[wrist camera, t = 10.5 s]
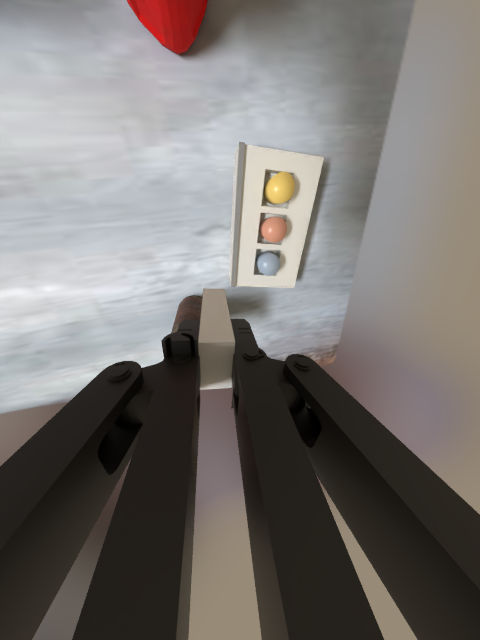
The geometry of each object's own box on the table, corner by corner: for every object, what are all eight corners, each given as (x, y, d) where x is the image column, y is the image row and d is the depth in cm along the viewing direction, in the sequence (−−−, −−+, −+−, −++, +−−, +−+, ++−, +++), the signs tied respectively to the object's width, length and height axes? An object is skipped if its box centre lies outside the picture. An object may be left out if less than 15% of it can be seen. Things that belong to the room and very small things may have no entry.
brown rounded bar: (215, 313, 45) (219, 371, 28) (192, 327, 46) (181, 392, 29) (197, 289, 42) (189, 338, 24) (172, 305, 43) (146, 363, 25)
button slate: (256, 250, 36) (261, 253, 33) (275, 251, 37) (282, 255, 33) (254, 270, 38) (258, 275, 34) (272, 271, 39) (278, 276, 35)
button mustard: (265, 175, 30) (272, 169, 27) (287, 178, 31) (297, 173, 28) (262, 203, 32) (268, 201, 29) (283, 205, 33) (291, 204, 29)
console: (234, 154, 31) (239, 142, 26) (309, 165, 33) (326, 156, 28) (228, 279, 42) (231, 286, 37) (285, 281, 44) (295, 288, 39)
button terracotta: (260, 216, 33) (266, 215, 30) (281, 218, 34) (289, 218, 30) (257, 239, 35) (263, 241, 32) (277, 241, 36) (284, 243, 32)
